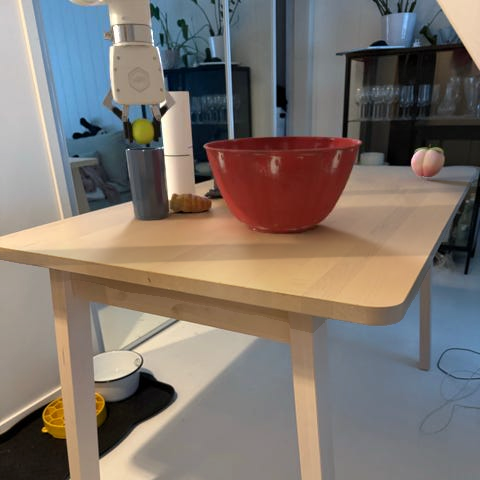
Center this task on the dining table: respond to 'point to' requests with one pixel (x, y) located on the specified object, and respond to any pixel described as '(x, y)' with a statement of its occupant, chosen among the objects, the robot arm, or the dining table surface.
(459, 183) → the dining table surface
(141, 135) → the ball
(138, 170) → the cup
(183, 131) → the cylindrical container
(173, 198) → the pastry
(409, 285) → the dining table surface
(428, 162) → the decorative fruit
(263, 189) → the mixing bowl
